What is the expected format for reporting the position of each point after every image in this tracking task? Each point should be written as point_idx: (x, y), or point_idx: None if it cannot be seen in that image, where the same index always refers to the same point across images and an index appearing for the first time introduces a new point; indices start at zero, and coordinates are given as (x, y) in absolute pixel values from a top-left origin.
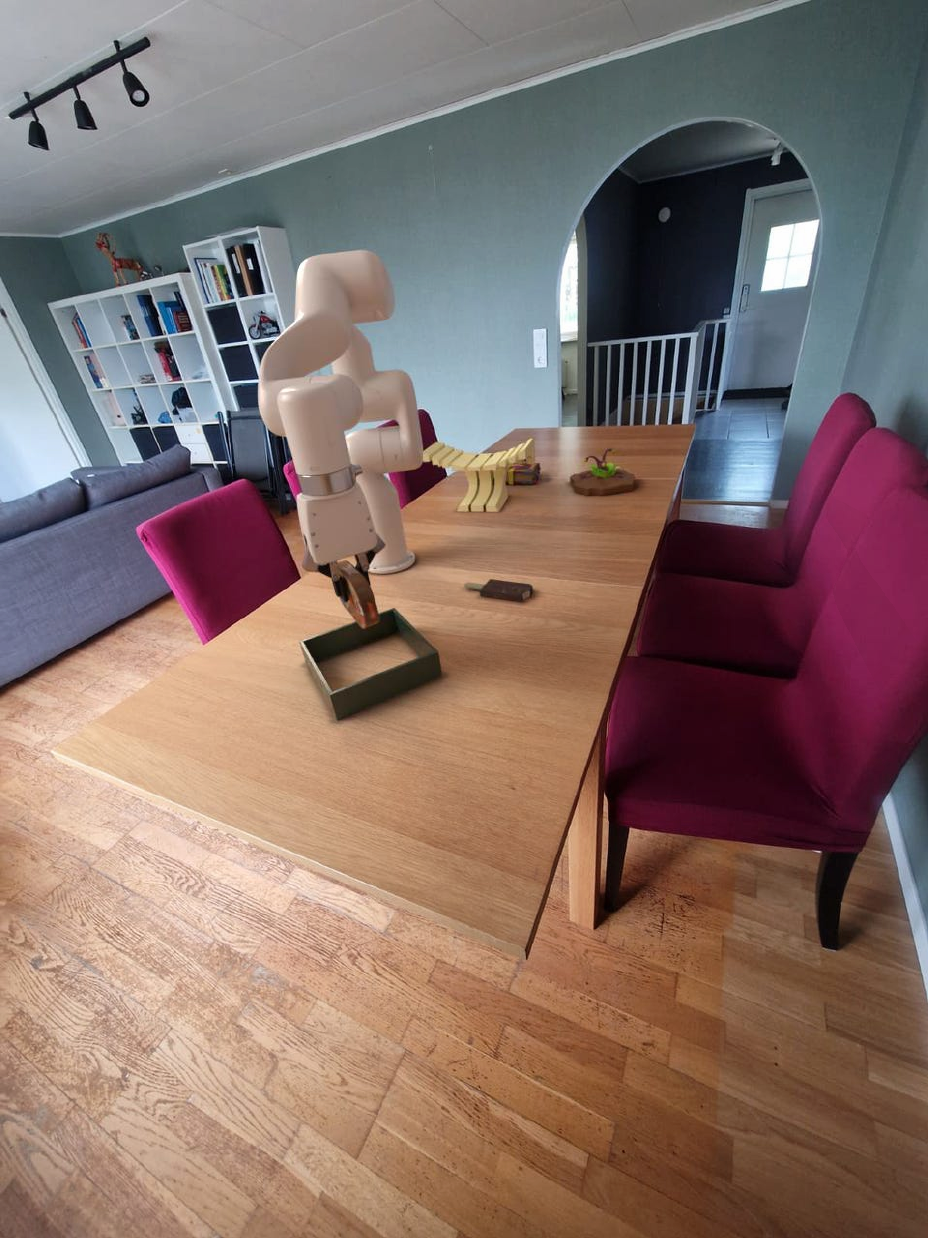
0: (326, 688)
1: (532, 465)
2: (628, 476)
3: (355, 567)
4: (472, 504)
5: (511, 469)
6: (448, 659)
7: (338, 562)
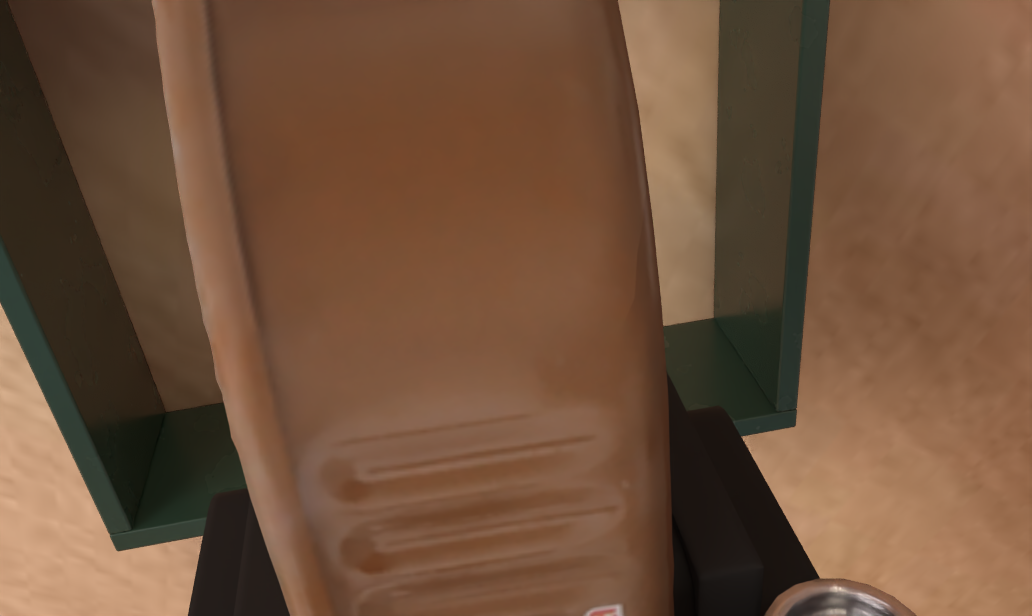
0: (94, 496)
1: None
2: None
3: (693, 579)
4: None
5: None
6: (833, 210)
7: (406, 361)
